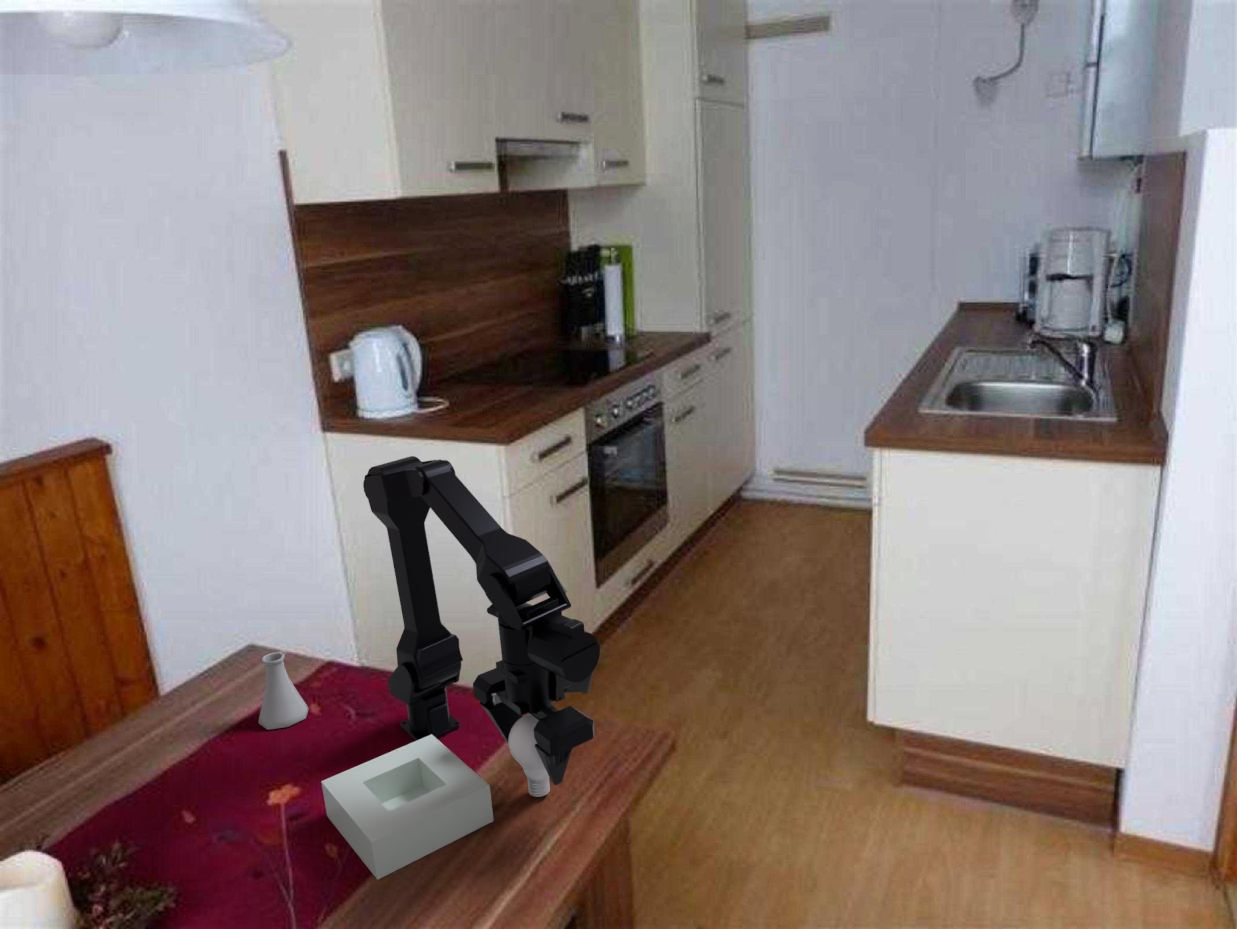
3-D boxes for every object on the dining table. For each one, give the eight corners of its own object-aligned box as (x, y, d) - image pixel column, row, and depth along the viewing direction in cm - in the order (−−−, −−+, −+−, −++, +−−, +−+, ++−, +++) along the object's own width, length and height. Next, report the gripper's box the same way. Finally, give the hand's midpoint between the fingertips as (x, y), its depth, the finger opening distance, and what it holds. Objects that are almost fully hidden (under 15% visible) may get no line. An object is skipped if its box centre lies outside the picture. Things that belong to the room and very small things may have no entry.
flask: (255, 713, 141) (243, 653, 138) (304, 699, 144) (294, 640, 142) (262, 736, 135) (250, 674, 132) (313, 720, 138) (302, 659, 135)
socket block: (327, 816, 116) (321, 781, 115) (436, 767, 125) (431, 734, 124) (377, 879, 105) (371, 842, 103) (493, 820, 113) (489, 785, 112)
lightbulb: (575, 794, 118) (568, 716, 114) (534, 817, 114) (526, 738, 110) (544, 773, 122) (537, 698, 119) (504, 795, 118) (495, 718, 115)
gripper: (626, 658, 110) (634, 773, 114) (539, 609, 124) (549, 713, 129) (547, 692, 103) (558, 813, 108) (465, 636, 118) (478, 745, 122)
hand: (536, 766), depth 117 cm, fingers open, 9 cm apart
